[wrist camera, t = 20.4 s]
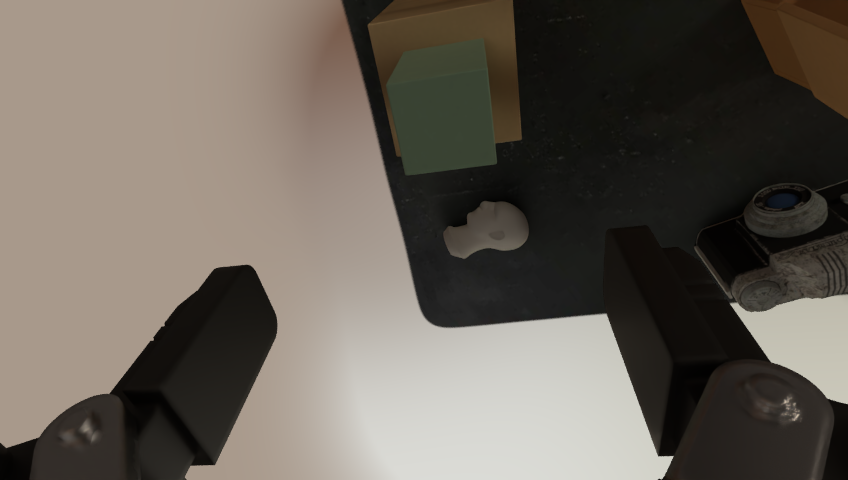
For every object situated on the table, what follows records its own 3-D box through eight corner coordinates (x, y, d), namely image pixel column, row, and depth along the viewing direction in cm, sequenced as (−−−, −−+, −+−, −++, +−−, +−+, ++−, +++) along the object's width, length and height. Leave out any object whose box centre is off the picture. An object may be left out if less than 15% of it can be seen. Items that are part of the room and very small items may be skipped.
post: (403, -9, 35) (367, 24, 22) (496, -27, 34) (512, -3, 21) (420, 84, 39) (396, 157, 26) (504, 71, 38) (521, 140, 25)
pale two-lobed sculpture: (520, 189, 45) (530, 239, 46) (440, 206, 46) (451, 254, 47) (523, 197, 40) (534, 252, 42) (435, 216, 42) (447, 268, 43)
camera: (871, 139, 38) (982, 197, 30) (873, 204, 41) (975, 272, 33) (682, 207, 43) (733, 272, 35) (697, 260, 46) (747, 332, 38)
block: (403, 51, 23) (385, 84, 18) (483, 37, 22) (487, 67, 17) (417, 128, 25) (405, 176, 20) (491, 117, 25) (497, 164, 20)
